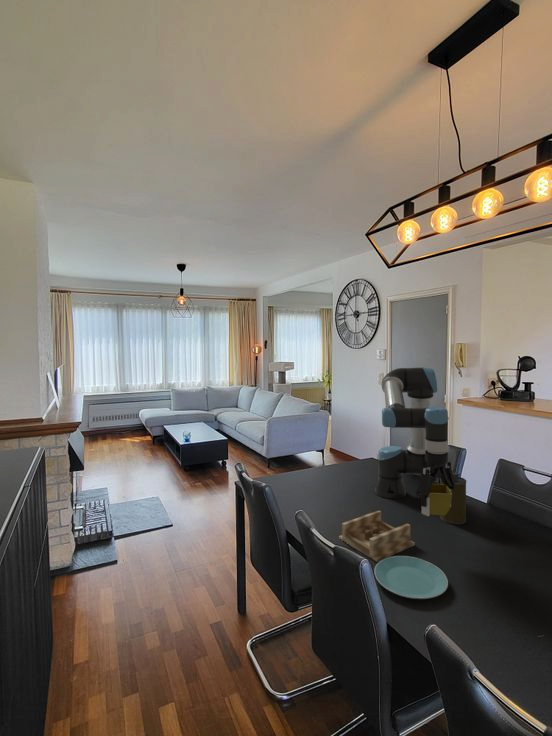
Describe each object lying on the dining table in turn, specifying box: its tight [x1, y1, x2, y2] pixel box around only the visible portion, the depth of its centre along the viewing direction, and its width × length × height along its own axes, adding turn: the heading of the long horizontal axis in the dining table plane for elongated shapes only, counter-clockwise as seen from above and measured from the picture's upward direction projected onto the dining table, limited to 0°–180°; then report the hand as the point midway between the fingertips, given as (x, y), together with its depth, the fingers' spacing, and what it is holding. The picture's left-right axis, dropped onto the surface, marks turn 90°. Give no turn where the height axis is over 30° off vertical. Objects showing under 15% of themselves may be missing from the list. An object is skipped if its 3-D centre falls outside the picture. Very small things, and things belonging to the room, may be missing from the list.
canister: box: [438, 471, 467, 525], centre depth 166 cm, size 11×10×20 cm
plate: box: [373, 555, 449, 600], centre depth 123 cm, size 22×22×3 cm
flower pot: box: [428, 483, 452, 516], centre depth 139 cm, size 9×9×9 cm
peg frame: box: [338, 510, 416, 563], centre depth 149 cm, size 20×20×7 cm
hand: (436, 510), depth 140 cm, fingers closed on flower pot, 12 cm apart
